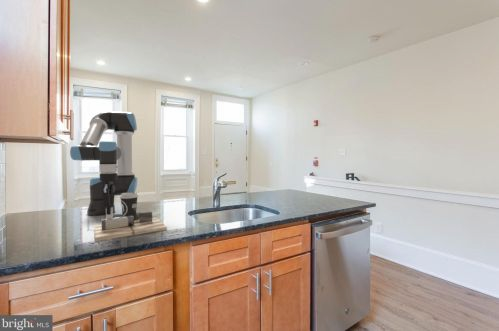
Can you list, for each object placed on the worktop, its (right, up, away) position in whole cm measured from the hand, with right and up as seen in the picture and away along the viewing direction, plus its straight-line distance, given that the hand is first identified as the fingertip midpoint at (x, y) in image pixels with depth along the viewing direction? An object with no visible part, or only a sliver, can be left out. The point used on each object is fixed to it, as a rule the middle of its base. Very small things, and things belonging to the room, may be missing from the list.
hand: (109, 220), depth 121 cm
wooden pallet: (+10, -5, +1) cm, 11 cm away
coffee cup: (0, -4, +19) cm, 20 cm away
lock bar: (+5, -3, 0) cm, 5 cm away
